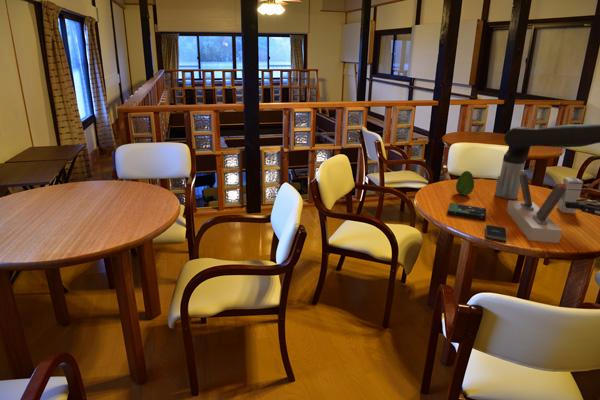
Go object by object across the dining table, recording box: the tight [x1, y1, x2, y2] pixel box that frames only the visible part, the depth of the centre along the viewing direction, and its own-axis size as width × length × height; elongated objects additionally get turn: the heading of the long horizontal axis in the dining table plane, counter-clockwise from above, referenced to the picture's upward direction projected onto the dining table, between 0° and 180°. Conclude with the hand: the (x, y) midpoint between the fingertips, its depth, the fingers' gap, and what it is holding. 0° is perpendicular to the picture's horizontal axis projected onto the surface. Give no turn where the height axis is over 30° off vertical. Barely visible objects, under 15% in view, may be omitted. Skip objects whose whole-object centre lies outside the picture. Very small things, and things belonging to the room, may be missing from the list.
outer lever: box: [536, 181, 567, 221], centre depth 151 cm, size 3×5×15 cm, turn 170°
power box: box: [506, 200, 563, 244], centre depth 162 cm, size 10×30×6 cm, turn 169°
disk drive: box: [447, 202, 487, 222], centre depth 173 cm, size 10×3×15 cm
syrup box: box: [556, 176, 584, 214], centre depth 178 cm, size 6×6×14 cm
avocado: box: [455, 170, 475, 196], centre depth 195 cm, size 8×8×12 cm
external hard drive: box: [484, 224, 508, 243], centre depth 153 cm, size 7×11×2 cm, turn 157°
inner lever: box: [519, 169, 533, 207], centre depth 165 cm, size 3×5×15 cm, turn 168°
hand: (565, 204), depth 150 cm, fingers closed
